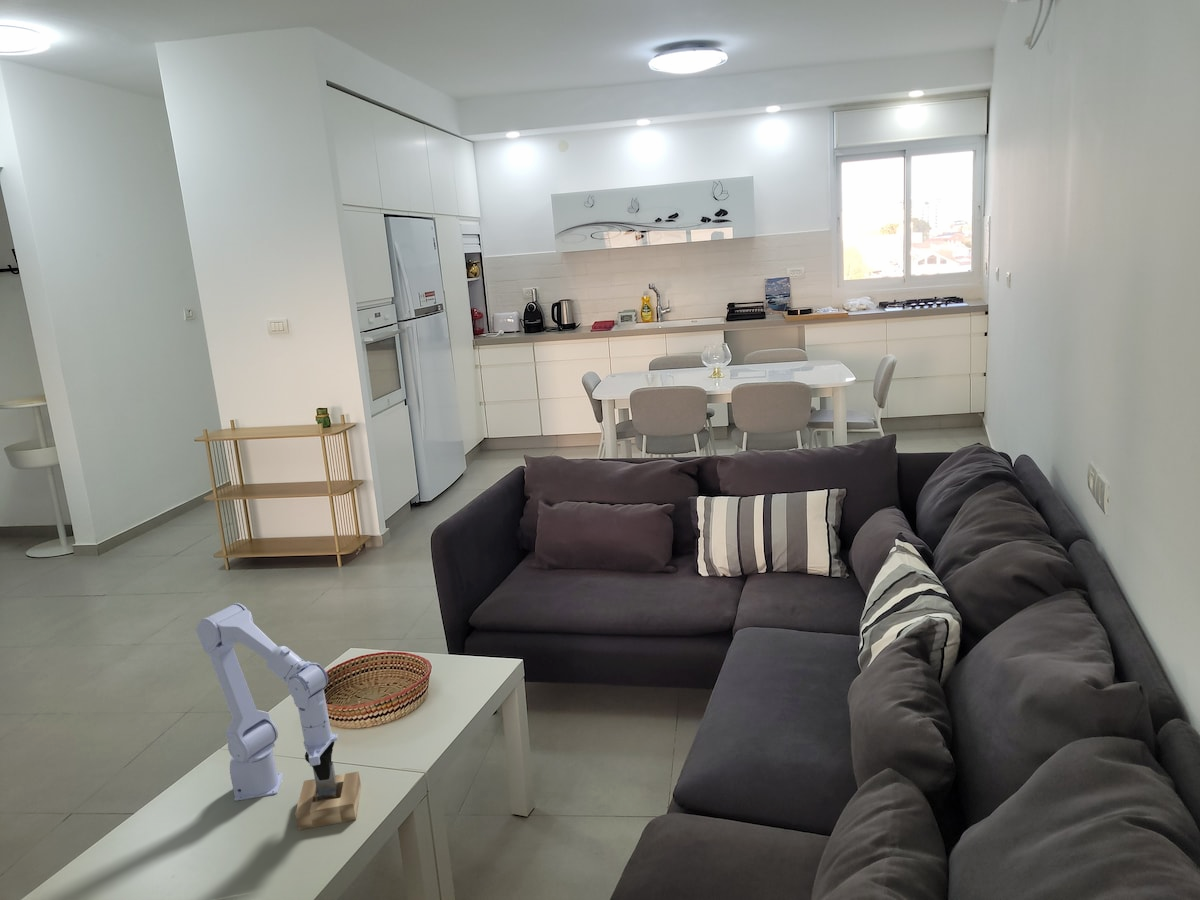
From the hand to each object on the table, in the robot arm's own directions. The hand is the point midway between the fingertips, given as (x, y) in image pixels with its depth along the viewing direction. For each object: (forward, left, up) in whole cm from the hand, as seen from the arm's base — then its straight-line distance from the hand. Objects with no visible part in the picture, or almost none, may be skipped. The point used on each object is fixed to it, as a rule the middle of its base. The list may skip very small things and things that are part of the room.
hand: (325, 776), depth 194 cm
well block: (0, 0, -8) cm, 8 cm away
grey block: (0, 0, -4) cm, 4 cm away
